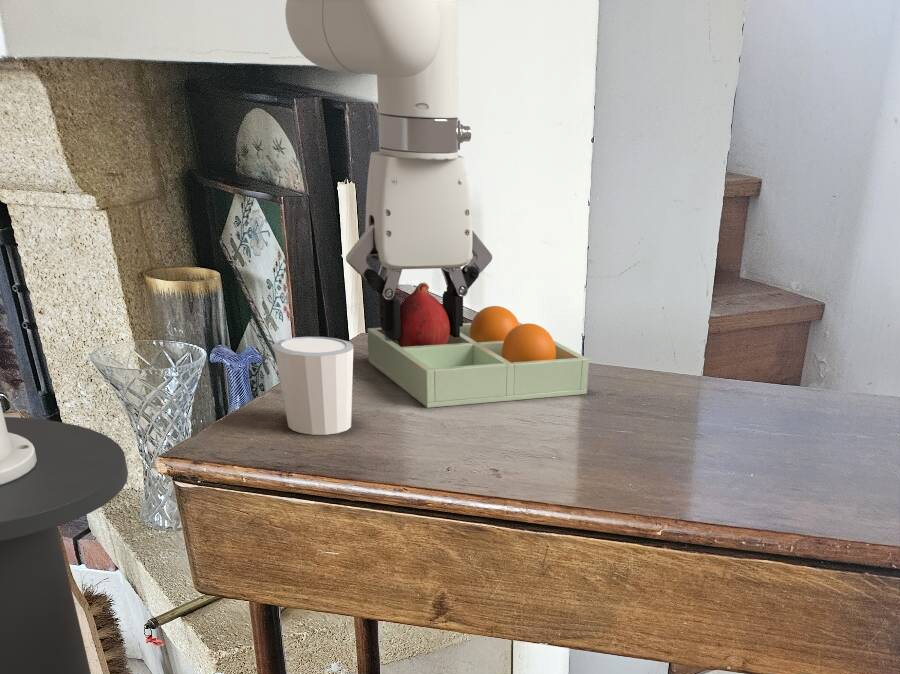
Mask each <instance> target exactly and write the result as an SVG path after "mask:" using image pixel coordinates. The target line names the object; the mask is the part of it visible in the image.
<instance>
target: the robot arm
mask: <svg viewBox="0 0 900 674" xmlns="http://www.w3.org/2000/svg"><path fill="white" fill-rule="evenodd" d="M285 24H286V28H287V32H288V34H289V37H290V39H291V41H292V42H293V45H294V46H295V48H296V49H297V50H298V51H299V53H300V54H301V55H302V56H303V57H304V58H305V59H306V60H308V61H309V62H311V63H312V64H313V65H315V66H317V67H319V68H321V69H324V70H327V71H332V72H337V73H345V74H346V73H348V74H356V75H362V74H365V75H376V86H377V87H376V89H377V90H376V91H377V112H378V117H377V118H378V140H379V141H378V143H379V145H378V146H379V151H372V152H370V157H369V164H368V171H367V182H366V183H367V184H366V197H365V198H366V199H365V231H364V232H363V234H361V236H360V237H359V238H358V240H357V241H356V242H355V243H354V245H353V246H352V247H351V248H350V250H349V251H348V253H347V254H346V256H345V261H346V263H347V264H348V265H349V266H350V267H351V268H352V269H353V270H354V271H355V272H356V273H357V274H359V275H360V276H361V277H362V279H363V280H364V281H365V282H366V283H367V284H368V285H369V286H370V287H371V289H373V290H374V292H375V293H376V294H378V300H379V301H378V303H379V324H380V328H382V330H383V331H385V335H386V336H388V337H389V338H391V339H392V340H393V341H399V339H401V323H400V305H401V301H400V299H398V298H396V297H397V296H396V294H397V293H396V291H397V287H398V284H399V281H400V278H401V275H402V271H403V270H426V269H427V270H428V269H440V270H441V273H442V276H443V279H444V282H445V284H446V290H443V293H442V306H443V308H444V310H445V311H446V314H447V316H448V319H449V323H450V333H449V334H450V335H451V336H453V337H459V336H460V327H462V326H463V323H464V297H466V296H467V295H468V292H469V289H470V288H471V287H472V285H473V284H474V283H475V282H476V280H477V279H479V276H480V273H482V272H483V271H484V270H485V269H486V268H487V266H488V265H489V264H490V263H491V262H492V260H493V255H492V253H491V252H490V250H489V249H488V248H487V247H486V246H485V244H484V243H483V241H482V240H481V239H480V238H479V237H478V235H477V234H476V232H474V230H473V217H472V203H471V194H470V186H469V179H468V173H467V166H466V161H465V157H464V156H462V155H459V151H460V150H461V144H462V143H464V142H470V141H471V139H472V130H471V126H469V125H463V124H462V123H461V119H460V118H459V2H458V0H286V2H285ZM367 258H370V259H371V260H372V261H375V262H377V263H380V267H379V270H378V272H377V271H375V270H374V269H373V267H372V266H371V265H369V264H368V261H367ZM2 407H3V406H2V403H1V402H0V485H3V484H6V483H9V482H11V481H14V480H16V479H18V478H20V477H22V476H23V475H25V474H27V473H28V472H29V471H30V470H31V469H32V468H33V467H34V466H35V464H36V462H37V459H36V453H35V448H34V446H33V444H32V443H31V442H30V441H28V440H27V439H26V438H23V437H21V436H19V435H16V434H13V433H9V432H8V431H7V427H6V423H5V419H4V417H5V414H4V410H3V408H2Z"/></svg>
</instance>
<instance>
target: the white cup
mask: <svg viewBox="0 0 900 674" xmlns="http://www.w3.org/2000/svg"><path fill="white" fill-rule="evenodd" d="M273 353H274V357H275V362H276V366H277V373H278V378H279V383H280V389H281V393H282V400H283V404H284V405H283V406H284V410H285V416H286V422H287V427H288V428H289V429H290V430H292V431H293V432H296V433H300V434H303V435H312V436H313V435H314V436H315V435H316V436H327V435H335V434H340V433H343V432H346V431H349V429H350V428H352V411H353V410H352V409H353V407H352V406H353V375H354V374H353V373H354V344H353V343H351V342H350V341H348V340H345V339H340V338H335V337H327V336H297V337H290V338H289V337H288V338H285V339H280V340H279V341H276V342H275V343H274V345H273Z"/></svg>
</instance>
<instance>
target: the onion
mask: <svg viewBox="0 0 900 674" xmlns="http://www.w3.org/2000/svg"><path fill="white" fill-rule="evenodd" d="M429 289H430V286H429V285H428V283H426V282H420V283H419V284H418V285H417V286H416V288H415V289H414V290H413V292H412V293H410V294H409V295H407V297H405V299H403V301H402V302H401V303H400V323H401V339H399V341H398V343H399V345H400V346H401V347H409V346H425V345H442V344H446V343H447V341H448V339H449V333H450V323H449V319H448V316H447V314H446V311H445V310H444V308H443V304H441V302H440V301H439V300H438V299H437V298H436V297H434V296H433V295H432V294H431V293H429Z"/></svg>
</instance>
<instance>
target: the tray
mask: <svg viewBox="0 0 900 674" xmlns="http://www.w3.org/2000/svg"><path fill="white" fill-rule="evenodd" d="M471 323H472V322H463V326H462V327H460V336H459V337H453V336H451V335H450V334H449V339H448V341H447V343H446V344H442V345H425V346H409V347H401V346H400V345H399V343H398V341H393V340H392V339H391V338H389V337H388V336H386V335H385V331H383V330H382V328H381V327H368V328H367V330H366V331H367V332H366V333H367V352H368V363H369V364H371V365H372V366H373V367H375V368H376V369H377V370H379V371H380V373H382V374H384V375H385V376H386V377H387V378H388V379H390V380H391V381H392V382H394V383H395V384H396V385H398V386H399V387H400V388H401V389H403V390H404V391H405V392H406V393H408V394H409V395H410V396H412V397H413V398H414V399H415V400H417V401H418V402H419V403H420V404H422V405H423V406H424V407H425V408H427V409H432V408H441V407H442V408H443V407H454V406H455V407H456V406H466V405H474V404H475V405H478V404H487V403H488V404H489V403H499V402H500V403H501V402H509V401H510V402H511V401H512V402H513V401H522V400H523V401H524V400H533V399H534V400H535V399H544V398H545V399H547V398H557V397H567V396H568V397H569V396H578V395H587V393H588V380H589V367H590V358H588V357H585V356H584V355H582V354H580V353H578V352H576V351H575V350H573V349H571V348H569V347H567V346H565V345H563V344H561V343H559V342H557V341H555V340H554V339H553V341H554V343H555V348H556V358H555V360H541V361H527V362H513V363H511V362H509V361H507V360H506V359H504V358H502V346H503V342H504V341H491V342H476V341H474V340H473V339H471V338H470V327H471ZM519 324H520V325H521V324H522V323H521V322H519Z"/></svg>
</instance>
